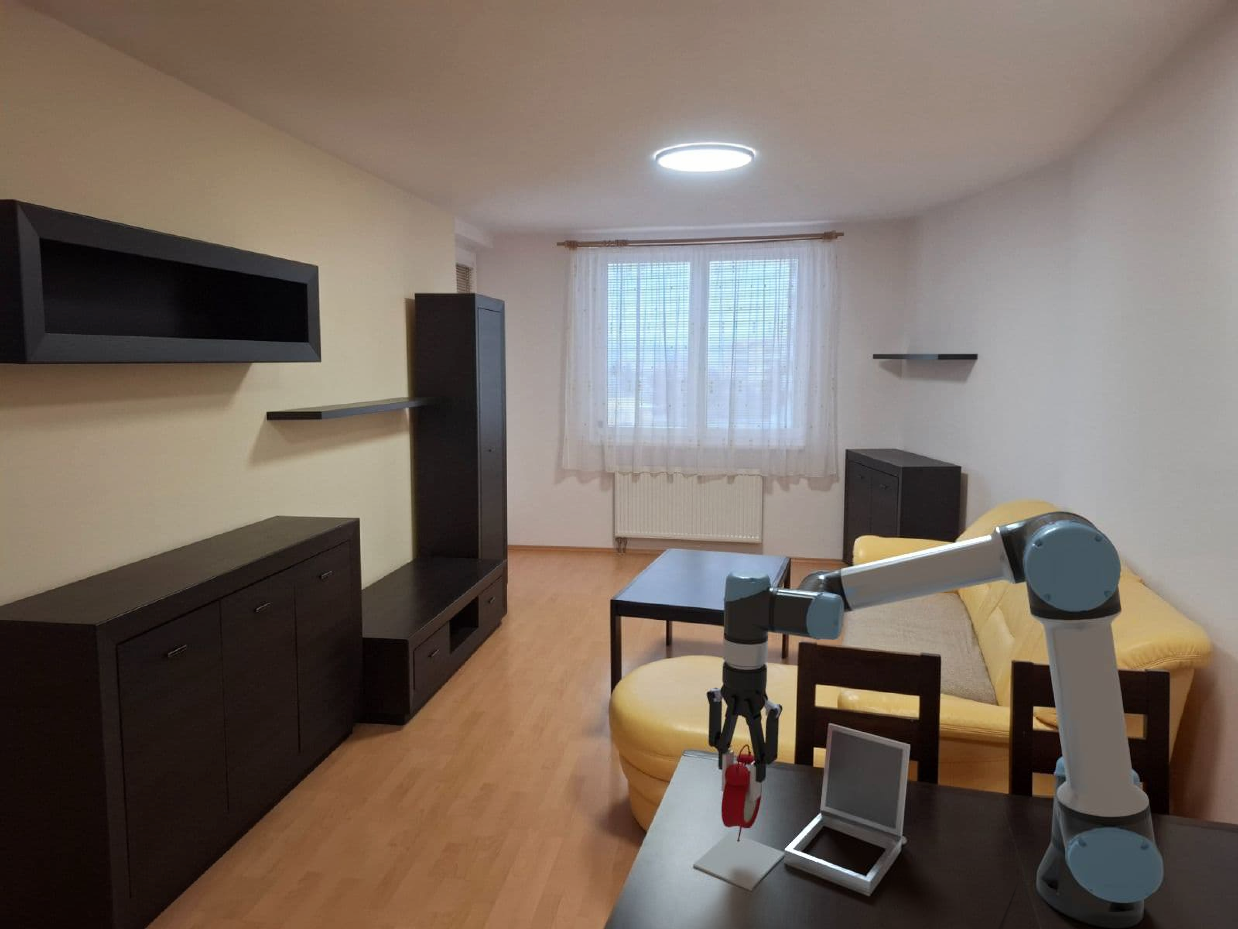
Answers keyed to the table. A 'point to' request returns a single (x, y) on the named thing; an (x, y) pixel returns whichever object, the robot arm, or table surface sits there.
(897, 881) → the table surface
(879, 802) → the lid
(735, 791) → the alarm clock
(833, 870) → the case
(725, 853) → the mat
